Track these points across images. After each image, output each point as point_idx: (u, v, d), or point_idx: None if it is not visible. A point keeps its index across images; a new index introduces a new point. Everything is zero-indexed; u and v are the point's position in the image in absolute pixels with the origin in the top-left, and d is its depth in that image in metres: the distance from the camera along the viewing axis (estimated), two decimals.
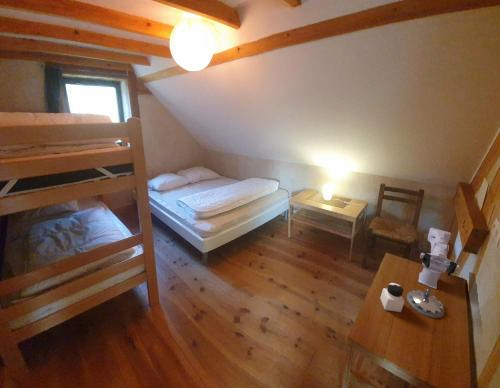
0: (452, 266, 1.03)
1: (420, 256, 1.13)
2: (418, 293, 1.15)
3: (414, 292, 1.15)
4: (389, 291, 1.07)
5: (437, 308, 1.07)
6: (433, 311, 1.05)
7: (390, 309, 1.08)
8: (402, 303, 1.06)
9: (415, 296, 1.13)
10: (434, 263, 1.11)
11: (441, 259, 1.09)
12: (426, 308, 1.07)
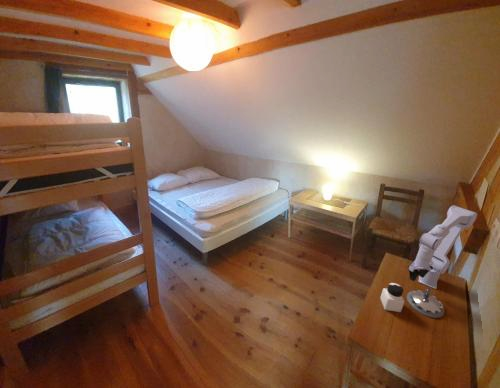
0: (428, 271, 1.13)
1: (409, 270, 1.10)
2: (418, 293, 1.15)
3: (414, 292, 1.15)
4: (389, 291, 1.07)
5: (437, 308, 1.07)
6: (433, 311, 1.05)
7: (390, 309, 1.08)
8: (402, 303, 1.06)
9: (415, 296, 1.13)
10: None
11: None
12: (426, 308, 1.07)
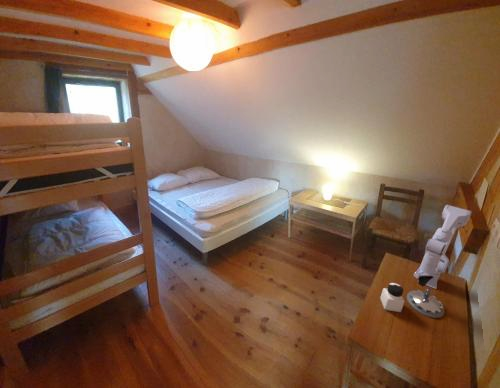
0: (429, 280, 1.08)
1: (414, 276, 1.06)
2: (418, 293, 1.15)
3: (414, 292, 1.15)
4: (389, 291, 1.07)
5: (437, 308, 1.07)
6: (433, 311, 1.05)
7: (390, 309, 1.08)
8: (402, 303, 1.06)
9: (415, 296, 1.13)
10: None
11: None
12: (426, 308, 1.07)
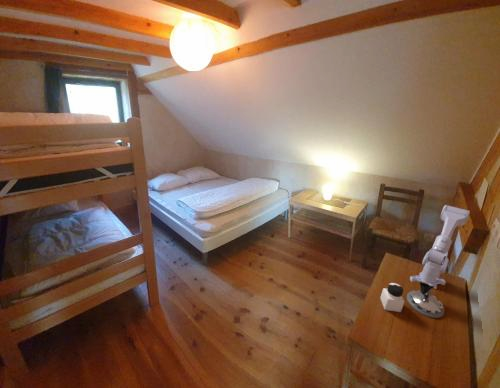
0: (428, 289, 1.10)
1: (410, 279, 1.12)
2: (418, 293, 1.15)
3: (414, 292, 1.15)
4: (389, 291, 1.07)
5: (437, 308, 1.07)
6: (433, 311, 1.05)
7: (390, 309, 1.08)
8: (402, 303, 1.06)
9: (415, 296, 1.13)
10: None
11: None
12: (426, 308, 1.07)
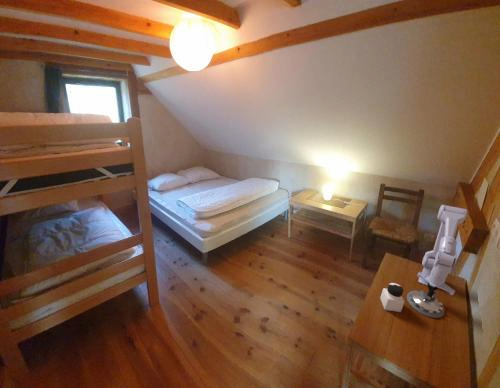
0: (431, 290, 1.10)
1: None
2: (424, 294, 1.14)
3: (420, 292, 1.16)
4: (389, 291, 1.07)
5: (431, 309, 1.06)
6: (422, 308, 1.07)
7: (390, 309, 1.08)
8: (402, 303, 1.06)
9: (417, 293, 1.15)
10: None
11: None
12: (417, 303, 1.09)
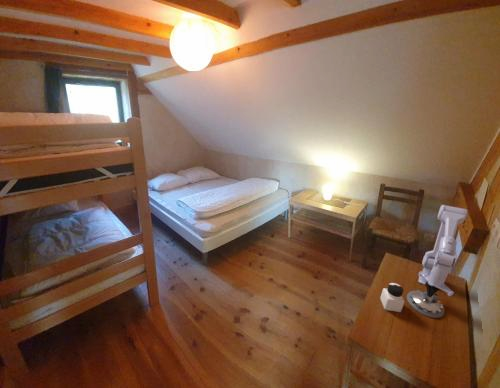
0: (431, 291, 1.09)
1: None
2: None
3: (424, 293, 1.15)
4: (389, 291, 1.07)
5: (426, 308, 1.07)
6: (418, 305, 1.09)
7: (390, 309, 1.08)
8: (402, 303, 1.06)
9: (420, 293, 1.15)
10: None
11: None
12: (415, 300, 1.11)
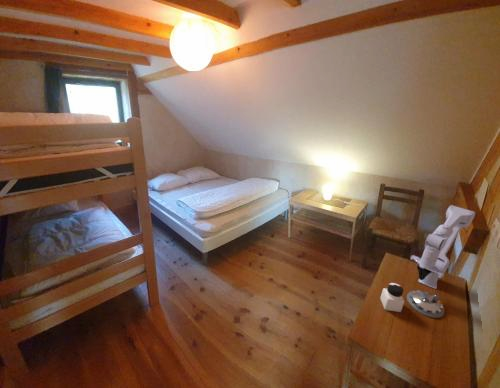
0: (423, 274, 1.12)
1: None
2: (428, 295, 1.14)
3: (424, 293, 1.15)
4: (389, 291, 1.07)
5: (426, 308, 1.07)
6: (418, 305, 1.09)
7: (390, 309, 1.08)
8: (402, 303, 1.06)
9: (420, 293, 1.15)
10: None
11: None
12: (415, 300, 1.11)
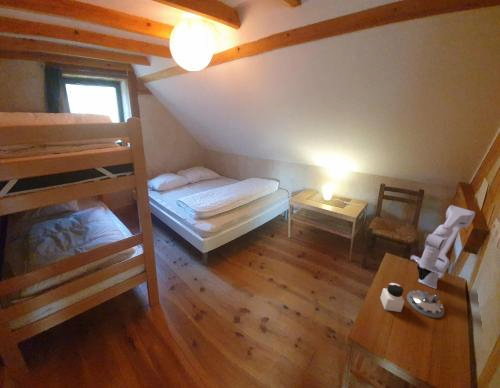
0: (423, 274, 1.12)
1: None
2: (428, 295, 1.14)
3: (424, 293, 1.15)
4: (389, 291, 1.07)
5: (426, 308, 1.07)
6: (418, 305, 1.09)
7: (390, 309, 1.08)
8: (402, 303, 1.06)
9: (420, 293, 1.15)
10: None
11: None
12: (415, 300, 1.11)
